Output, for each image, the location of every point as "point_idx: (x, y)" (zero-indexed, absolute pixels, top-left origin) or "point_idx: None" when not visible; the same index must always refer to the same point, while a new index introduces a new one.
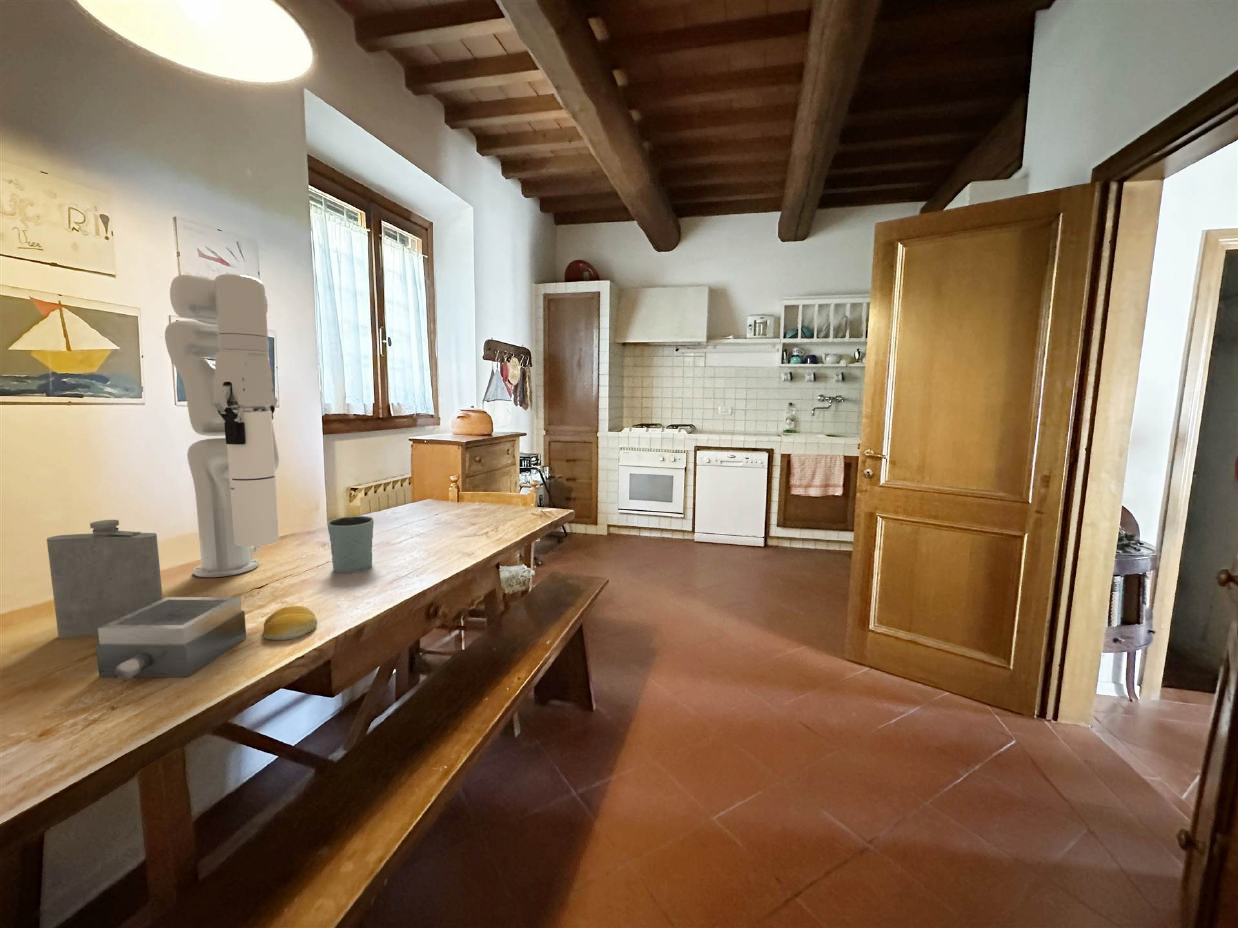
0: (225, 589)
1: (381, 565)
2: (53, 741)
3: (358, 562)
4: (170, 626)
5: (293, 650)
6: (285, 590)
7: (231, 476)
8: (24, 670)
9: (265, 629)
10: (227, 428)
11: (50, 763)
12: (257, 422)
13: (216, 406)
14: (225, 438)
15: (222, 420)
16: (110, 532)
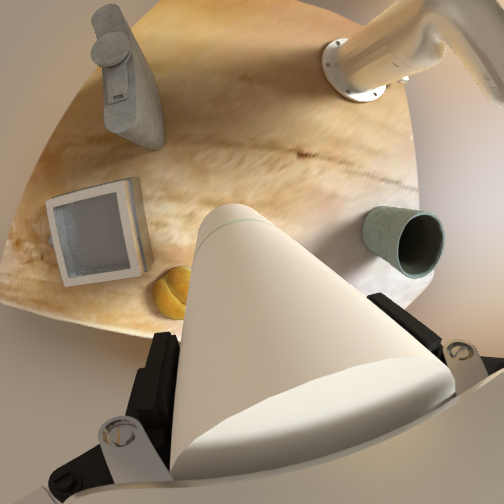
0: (288, 114)
1: None
2: (15, 258)
3: (372, 251)
4: (63, 270)
5: (143, 324)
6: (295, 196)
7: (193, 266)
8: (70, 116)
9: (154, 287)
10: (131, 405)
11: (8, 279)
12: None
13: (29, 499)
14: (152, 344)
15: (104, 427)
16: (106, 69)
